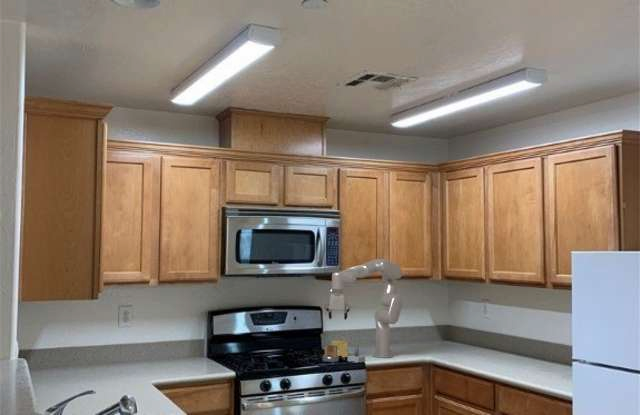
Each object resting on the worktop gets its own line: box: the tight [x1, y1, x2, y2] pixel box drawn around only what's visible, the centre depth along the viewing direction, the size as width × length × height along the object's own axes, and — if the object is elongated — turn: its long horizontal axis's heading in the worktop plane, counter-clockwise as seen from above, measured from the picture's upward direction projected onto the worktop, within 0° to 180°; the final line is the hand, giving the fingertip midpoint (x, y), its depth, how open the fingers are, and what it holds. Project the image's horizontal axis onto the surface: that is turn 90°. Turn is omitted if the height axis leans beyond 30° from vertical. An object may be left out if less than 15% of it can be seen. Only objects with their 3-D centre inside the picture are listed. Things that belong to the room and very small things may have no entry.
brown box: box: [324, 344, 337, 357], centre depth 385 cm, size 7×7×6 cm
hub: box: [322, 354, 340, 363], centre depth 385 cm, size 10×10×8 cm
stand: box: [347, 345, 366, 363], centre depth 386 cm, size 8×8×9 cm
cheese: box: [331, 339, 349, 358], centre depth 405 cm, size 10×11×10 cm
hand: (337, 319), depth 389 cm, fingers open, 9 cm apart
